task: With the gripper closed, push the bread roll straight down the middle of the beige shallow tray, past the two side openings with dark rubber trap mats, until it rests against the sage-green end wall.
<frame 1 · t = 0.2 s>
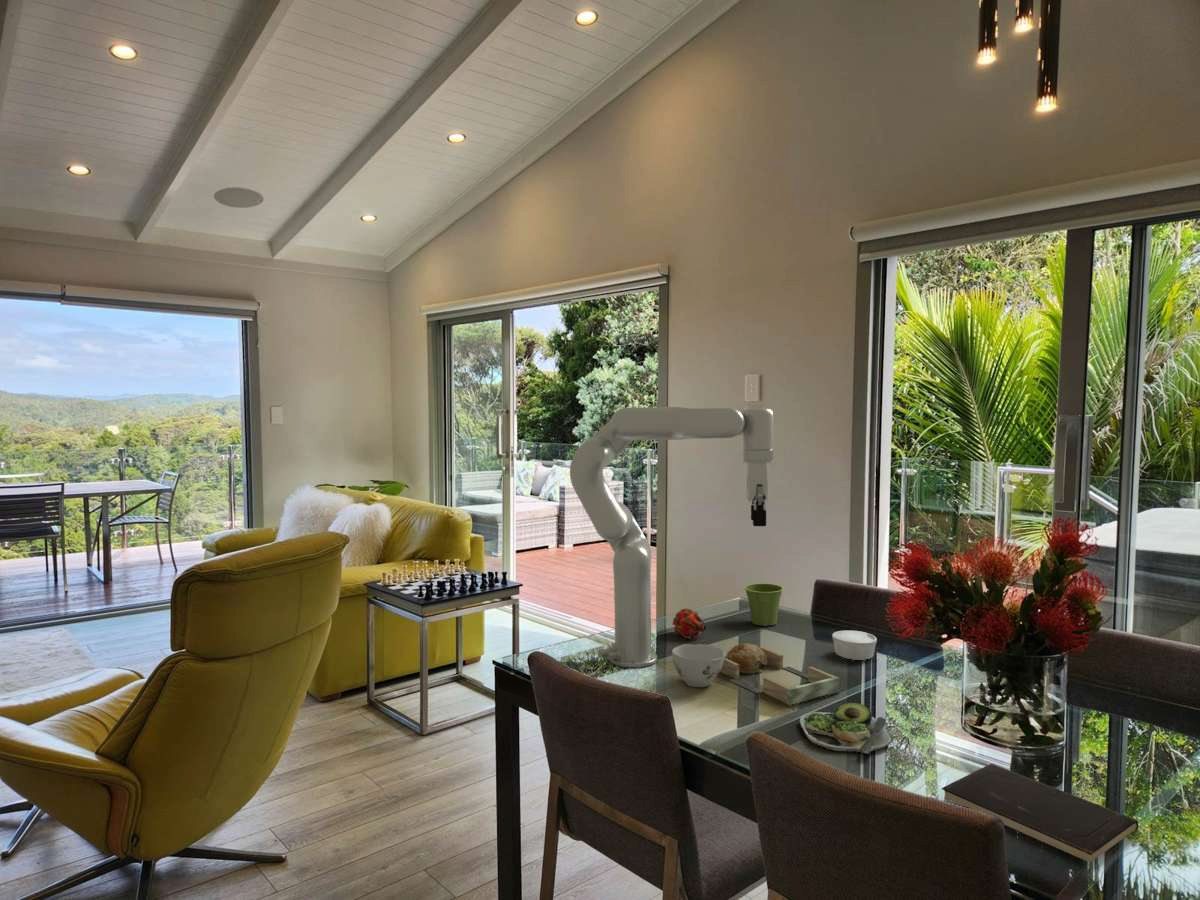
hand: (758, 523, 195), 36 cm above the table, tool pointing down, fingers open, 9 cm apart
bread roll: (745, 668, 194), on the table
beige shallow tray: (773, 679, 185), on the table
dragon fruit: (689, 637, 221), on the table
avocado toast plate: (845, 736, 154), on the table
plant pot: (763, 624, 233), on the table
hardcover book: (1035, 817, 124), on the table
teacup: (695, 682, 184), on the table
ramekin: (854, 656, 203), on the table
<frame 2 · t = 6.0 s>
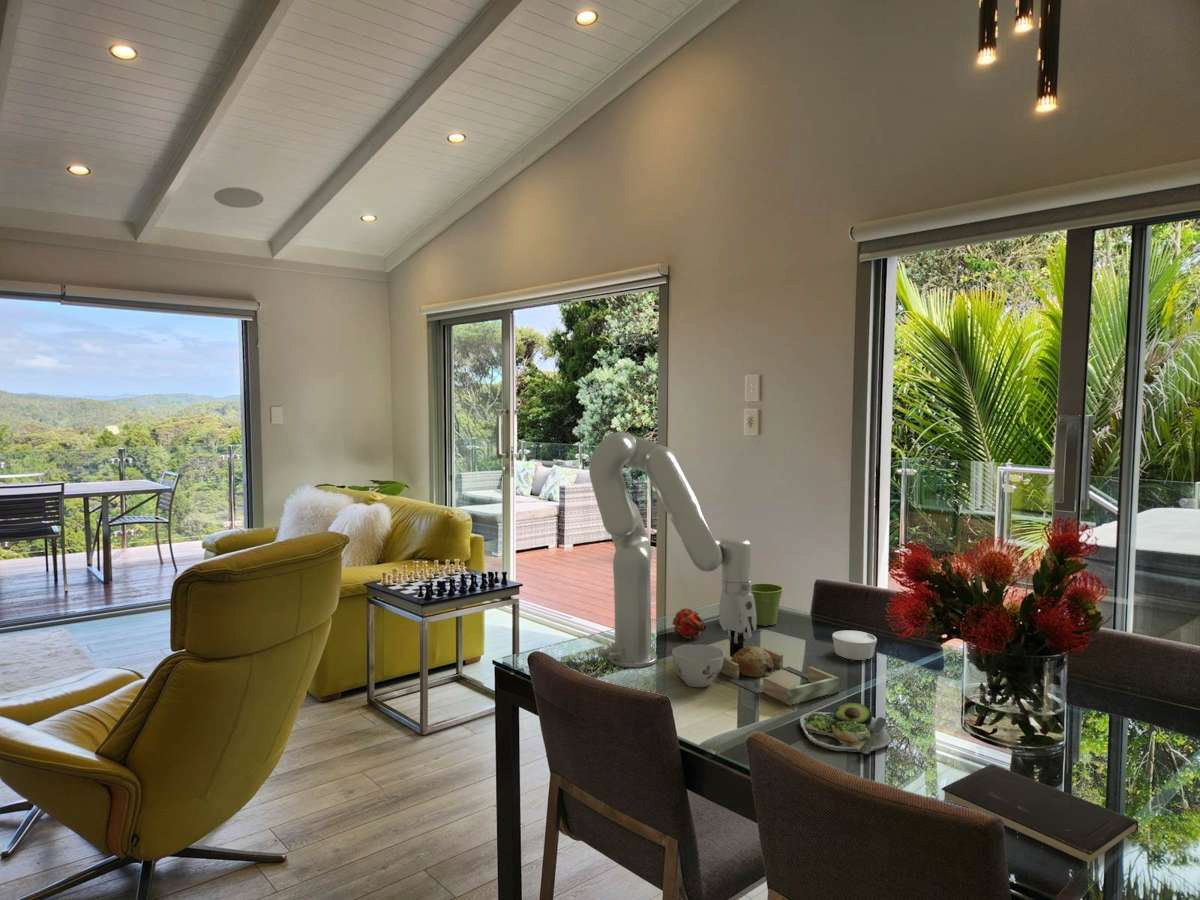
hand: (736, 656, 197), 2 cm above the table, tool pointing down, fingers closed
bread roll: (751, 671, 191), on the table, touching gripper
everything else where it was.
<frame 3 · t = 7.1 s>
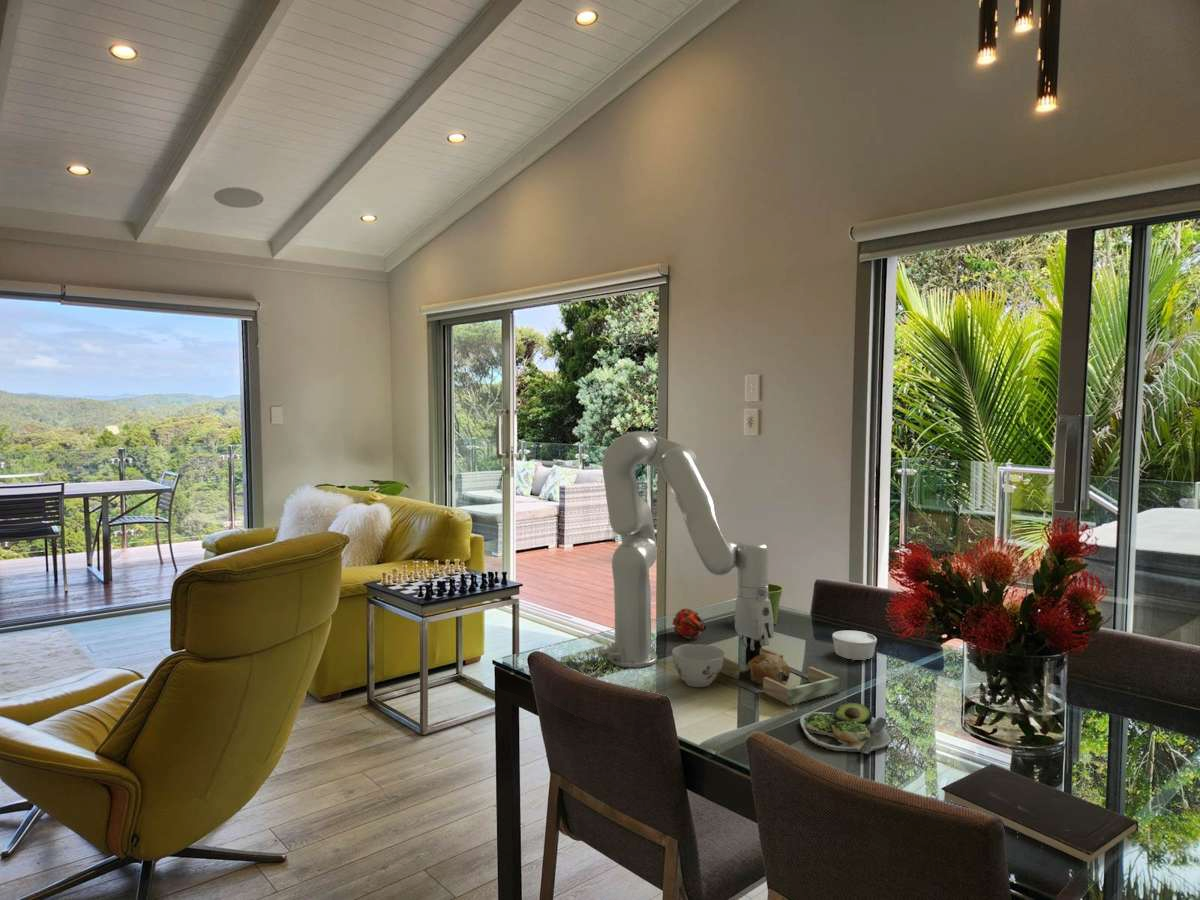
hand: (752, 663, 192), 2 cm above the table, tool pointing down, fingers closed
bread roll: (766, 680, 186), on the table, touching gripper
everything else where it was.
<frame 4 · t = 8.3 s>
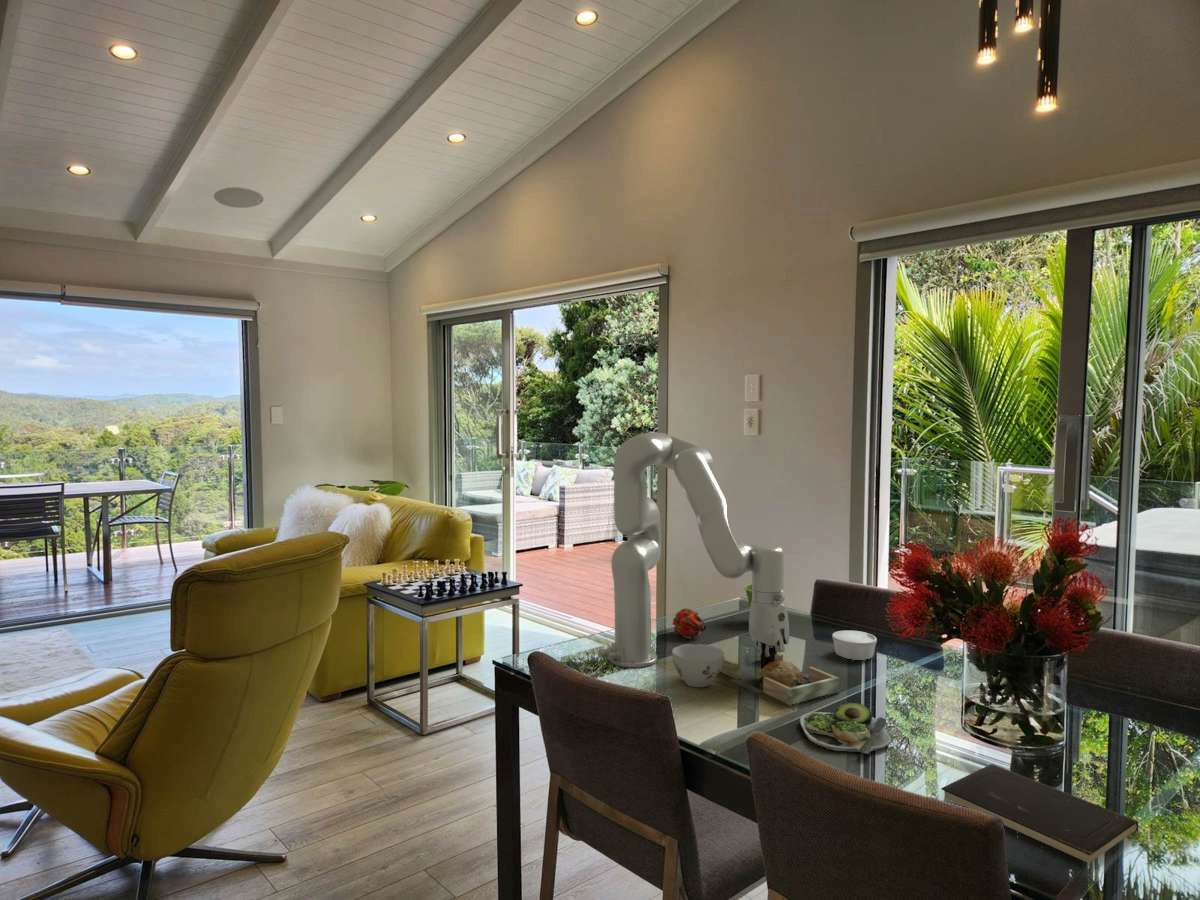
hand: (767, 670, 187), 2 cm above the table, tool pointing down, fingers closed
bread roll: (780, 688, 181), on the table, touching gripper
everything else where it was.
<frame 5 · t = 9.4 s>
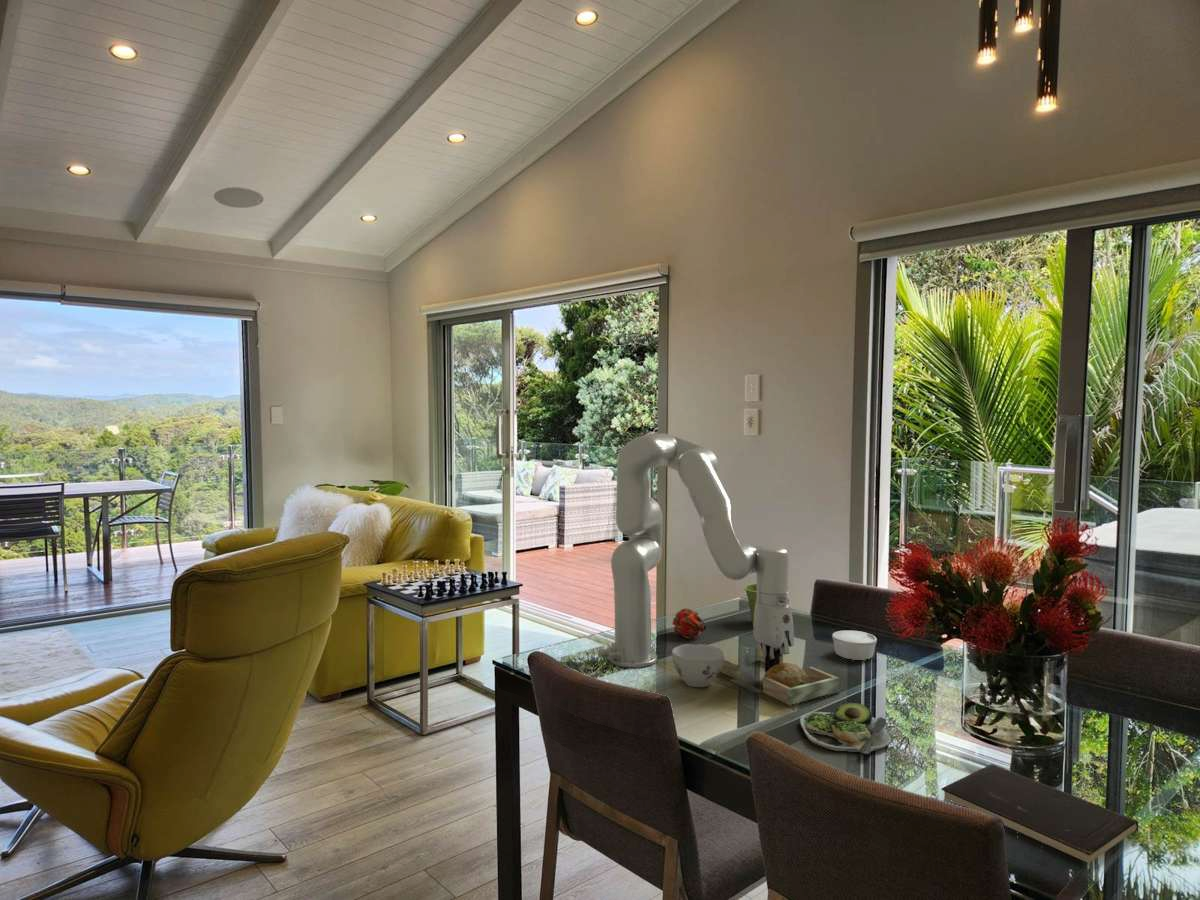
hand: (772, 672, 185), 2 cm above the table, tool pointing down, fingers closed
bread roll: (785, 690, 179), on the table
everything else where it was.
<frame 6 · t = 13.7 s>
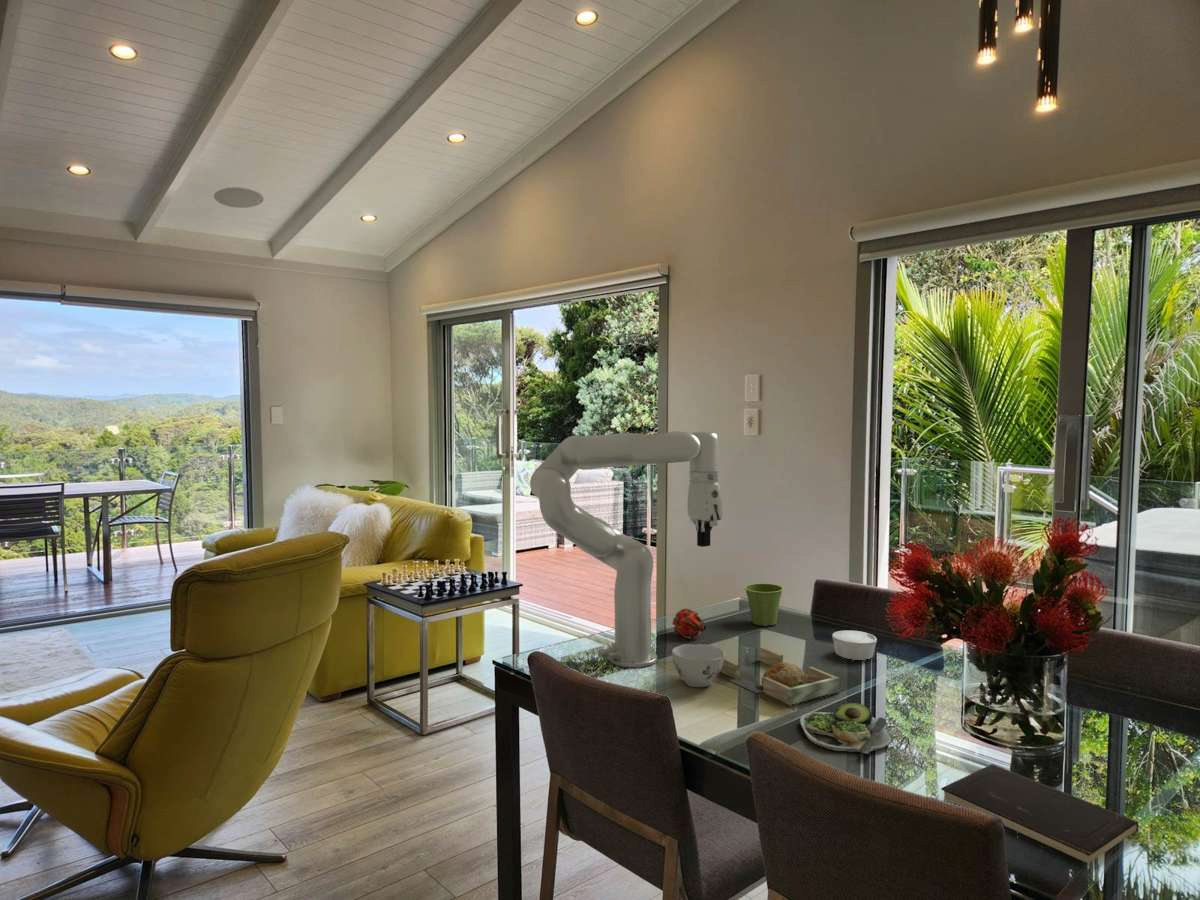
hand: (703, 545, 205), 29 cm above the table, tool pointing down, fingers closed
nothing on the table moved.
at the end: bread roll inside the target area (2.1 cm from its centre), on the table; bread roll moved 16.3 cm from its start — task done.
